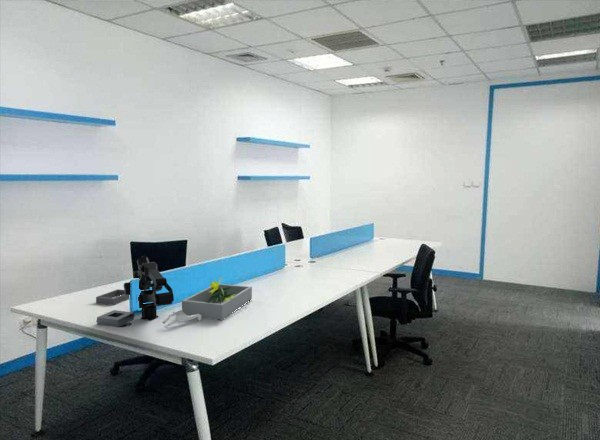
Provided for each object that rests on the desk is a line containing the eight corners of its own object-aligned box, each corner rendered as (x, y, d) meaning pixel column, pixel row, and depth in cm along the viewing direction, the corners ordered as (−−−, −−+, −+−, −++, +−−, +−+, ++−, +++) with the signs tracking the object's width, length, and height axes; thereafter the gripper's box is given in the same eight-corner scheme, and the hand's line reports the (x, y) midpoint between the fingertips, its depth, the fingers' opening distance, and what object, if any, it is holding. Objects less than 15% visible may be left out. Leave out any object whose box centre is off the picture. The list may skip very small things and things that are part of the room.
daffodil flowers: (235, 300, 254) (242, 301, 220) (213, 312, 250) (216, 315, 216) (223, 275, 255) (227, 272, 221) (200, 286, 250) (201, 285, 217)
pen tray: (134, 296, 255) (134, 291, 255) (114, 305, 238) (113, 298, 237) (117, 294, 258) (117, 289, 258) (96, 303, 241) (96, 296, 241)
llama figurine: (171, 339, 205) (203, 319, 214) (162, 320, 201) (195, 300, 211) (169, 338, 206) (201, 318, 216) (160, 319, 203) (193, 299, 212)
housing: (134, 319, 214) (134, 312, 214) (118, 327, 203) (117, 319, 203) (114, 316, 218) (114, 310, 217) (97, 324, 206) (96, 317, 206)
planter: (251, 300, 252) (251, 286, 252) (222, 320, 215) (222, 305, 214) (216, 296, 258) (216, 283, 258) (181, 315, 221) (181, 300, 220)
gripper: (160, 264, 229) (155, 280, 239) (123, 267, 219) (119, 284, 229) (165, 281, 223) (159, 297, 233) (127, 286, 213) (123, 302, 223)
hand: (140, 294), depth 230 cm, fingers open, 9 cm apart
